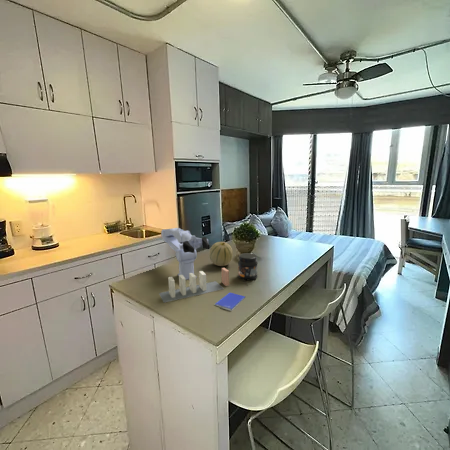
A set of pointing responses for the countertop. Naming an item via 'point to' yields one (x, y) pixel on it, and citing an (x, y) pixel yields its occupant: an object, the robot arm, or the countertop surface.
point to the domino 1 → (171, 287)
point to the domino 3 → (192, 282)
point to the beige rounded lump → (221, 254)
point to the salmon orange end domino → (225, 276)
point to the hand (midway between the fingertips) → (201, 248)
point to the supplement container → (247, 266)
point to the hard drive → (230, 301)
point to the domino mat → (209, 288)
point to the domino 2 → (182, 284)
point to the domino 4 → (202, 280)
